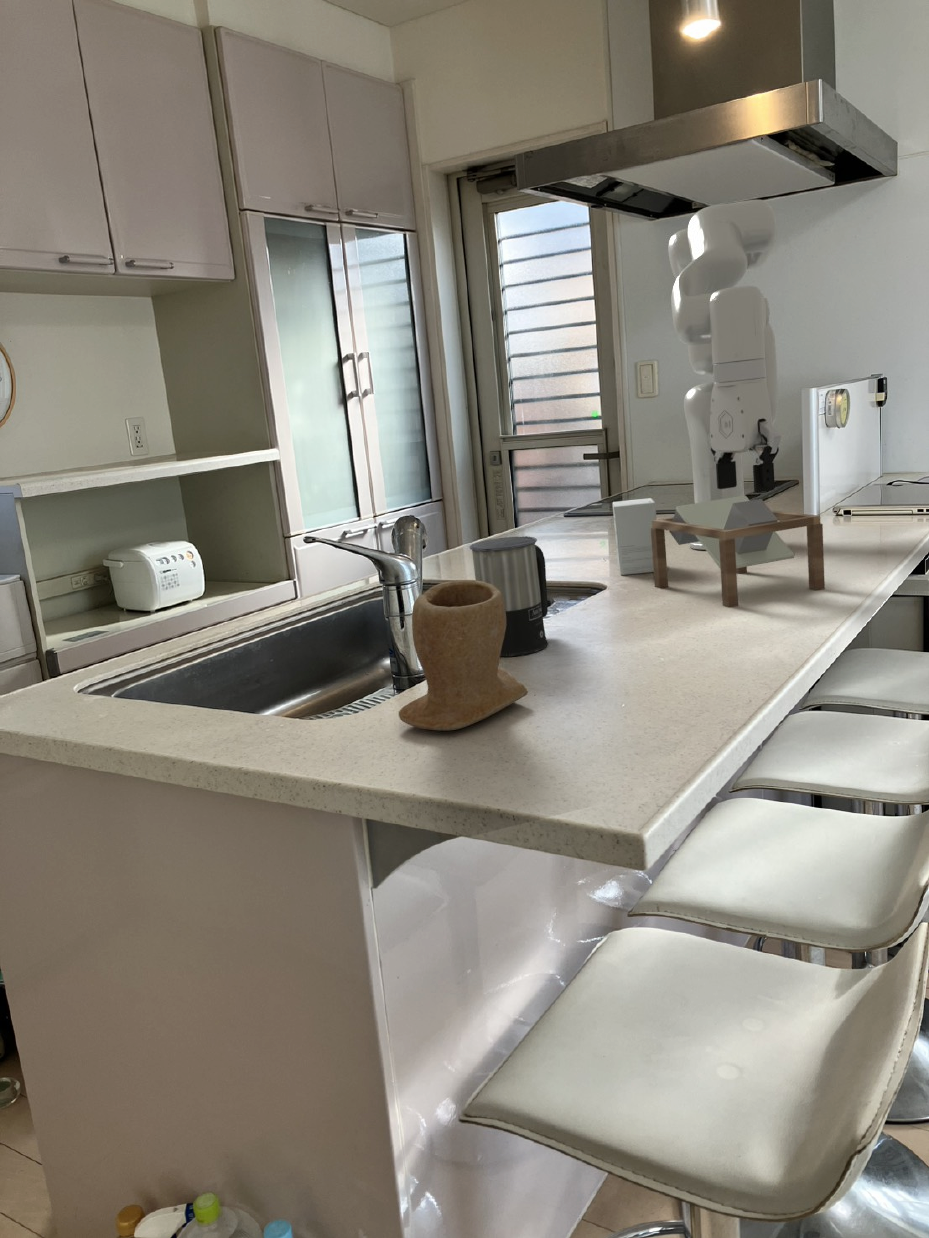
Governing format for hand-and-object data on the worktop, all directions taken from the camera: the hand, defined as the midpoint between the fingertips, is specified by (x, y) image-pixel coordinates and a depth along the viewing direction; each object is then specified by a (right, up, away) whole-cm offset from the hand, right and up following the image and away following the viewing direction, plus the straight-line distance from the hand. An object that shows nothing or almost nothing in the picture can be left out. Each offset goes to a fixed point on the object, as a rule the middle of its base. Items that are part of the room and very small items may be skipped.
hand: (745, 489), depth 154 cm
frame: (0, -15, +7) cm, 16 cm away
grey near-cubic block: (+1, -8, +3) cm, 8 cm away
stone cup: (-42, -31, -43) cm, 67 cm away
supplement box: (-11, -11, +31) cm, 35 cm away
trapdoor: (-1, -9, +8) cm, 13 cm away
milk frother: (-38, -24, -12) cm, 47 cm away
